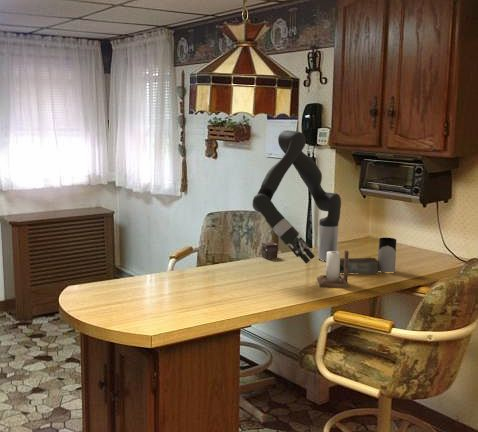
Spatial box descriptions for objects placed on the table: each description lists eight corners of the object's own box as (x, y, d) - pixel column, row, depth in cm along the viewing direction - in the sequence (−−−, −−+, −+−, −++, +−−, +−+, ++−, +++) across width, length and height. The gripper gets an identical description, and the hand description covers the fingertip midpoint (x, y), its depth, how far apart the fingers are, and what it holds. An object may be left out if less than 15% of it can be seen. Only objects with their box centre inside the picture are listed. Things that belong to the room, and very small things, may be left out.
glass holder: (376, 272, 265) (377, 240, 263) (376, 265, 279) (378, 234, 276) (396, 274, 263) (398, 241, 261) (395, 266, 277) (397, 235, 274)
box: (261, 257, 293) (261, 242, 292) (271, 256, 296) (272, 241, 295) (266, 259, 288) (267, 245, 287) (277, 258, 290) (278, 244, 289)
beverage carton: (333, 270, 270) (334, 256, 269) (375, 270, 270) (376, 256, 269) (336, 274, 262) (337, 260, 261) (379, 275, 262) (380, 260, 261)
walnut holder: (316, 279, 253) (318, 247, 251) (344, 279, 253) (346, 248, 251) (319, 287, 241) (321, 253, 239) (349, 287, 241) (350, 254, 239)
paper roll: (325, 278, 250) (326, 250, 248) (338, 278, 250) (339, 250, 248) (326, 281, 244) (327, 253, 243) (340, 282, 244) (341, 253, 242)
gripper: (287, 228, 243) (313, 258, 241) (296, 223, 256) (320, 251, 254) (274, 239, 246) (300, 269, 244) (284, 234, 259) (308, 261, 257)
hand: (310, 259), depth 249 cm, fingers open, 8 cm apart
